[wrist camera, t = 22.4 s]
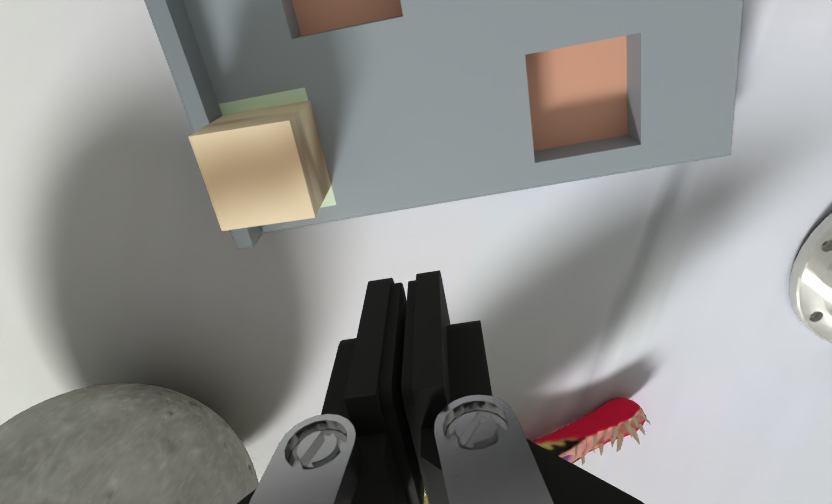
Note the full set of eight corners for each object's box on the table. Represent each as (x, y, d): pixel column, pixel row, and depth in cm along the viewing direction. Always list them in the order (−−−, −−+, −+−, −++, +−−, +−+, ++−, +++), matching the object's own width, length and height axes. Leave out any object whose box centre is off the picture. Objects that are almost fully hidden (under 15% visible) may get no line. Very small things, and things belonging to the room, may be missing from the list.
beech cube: (331, 185, 31) (315, 217, 27) (250, 197, 32) (221, 231, 27) (310, 100, 29) (289, 120, 25) (224, 114, 30) (188, 136, 25)
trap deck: (709, 143, 32) (749, 165, 28) (259, 219, 35) (237, 249, 31) (732, -233, 25) (791, -276, 21) (151, -95, 27) (103, -110, 23)
